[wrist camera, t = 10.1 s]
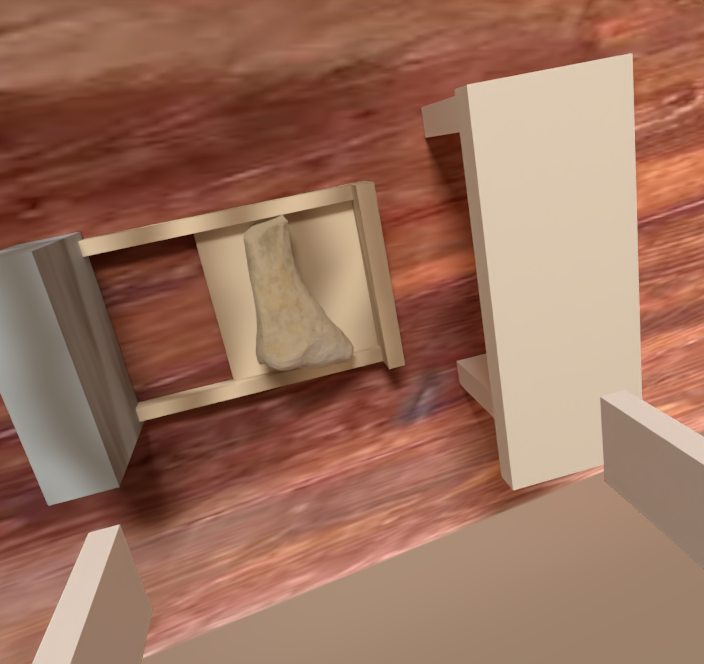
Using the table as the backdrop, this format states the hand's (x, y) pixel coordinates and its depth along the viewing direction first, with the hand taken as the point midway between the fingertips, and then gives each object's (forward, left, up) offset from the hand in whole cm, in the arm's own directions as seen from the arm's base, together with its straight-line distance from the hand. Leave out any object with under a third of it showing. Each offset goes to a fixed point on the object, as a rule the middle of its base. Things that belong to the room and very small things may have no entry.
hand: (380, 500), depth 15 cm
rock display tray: (-5, 0, -27) cm, 27 cm away
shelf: (+13, 0, -27) cm, 30 cm away
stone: (0, 0, -27) cm, 27 cm away
